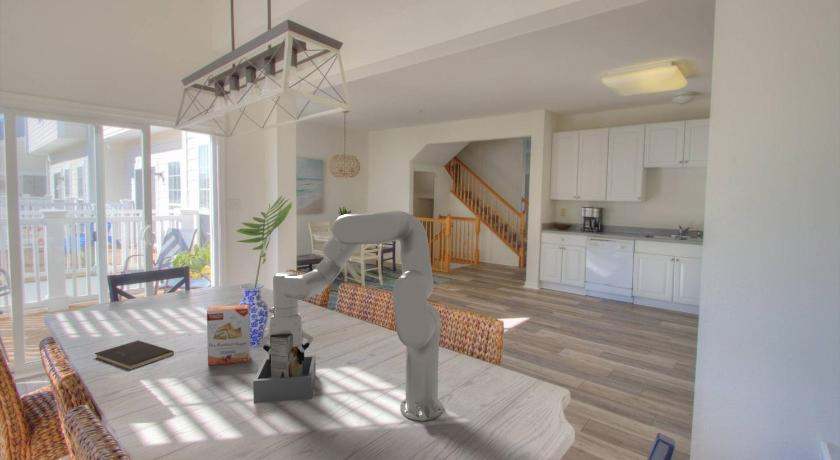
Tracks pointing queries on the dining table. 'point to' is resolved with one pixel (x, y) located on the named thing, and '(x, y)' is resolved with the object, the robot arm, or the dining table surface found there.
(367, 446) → the dining table surface
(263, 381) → the bin
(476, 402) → the dining table surface
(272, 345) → the coffee box
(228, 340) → the cracker box
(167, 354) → the hardcover book
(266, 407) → the dining table surface
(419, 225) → the robot arm
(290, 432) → the dining table surface
